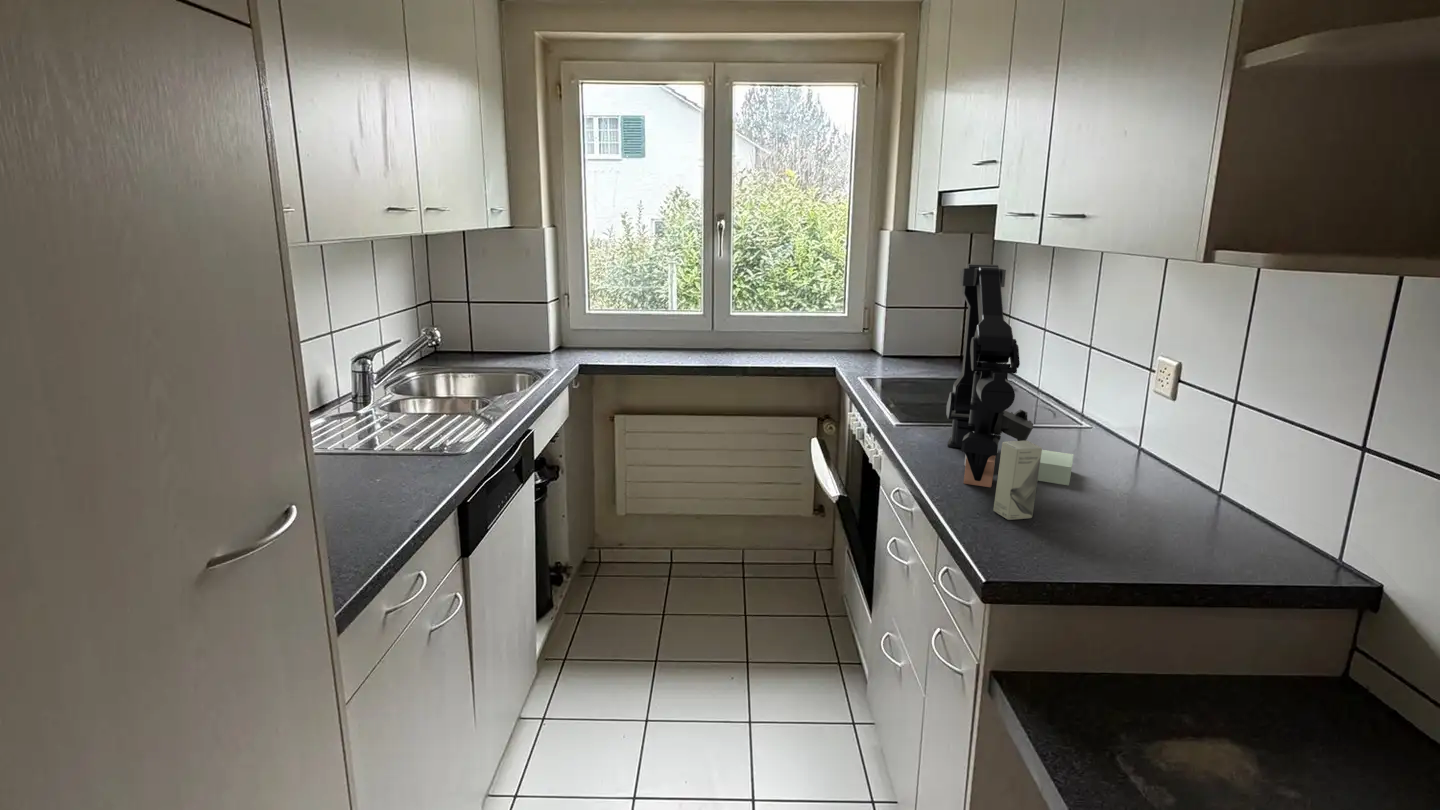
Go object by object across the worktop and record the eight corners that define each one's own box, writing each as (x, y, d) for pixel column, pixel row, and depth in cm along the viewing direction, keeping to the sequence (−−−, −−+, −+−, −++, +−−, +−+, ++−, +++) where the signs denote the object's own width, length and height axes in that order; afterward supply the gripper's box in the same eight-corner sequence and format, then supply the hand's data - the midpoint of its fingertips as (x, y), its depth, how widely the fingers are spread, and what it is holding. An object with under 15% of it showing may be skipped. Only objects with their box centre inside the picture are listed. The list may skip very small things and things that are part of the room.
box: (1007, 521, 131) (1016, 449, 128) (992, 511, 135) (1000, 441, 132) (1034, 518, 133) (1043, 446, 129) (1018, 508, 137) (1026, 439, 133)
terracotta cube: (966, 475, 153) (968, 451, 152) (992, 479, 151) (995, 454, 150) (963, 483, 149) (966, 458, 147) (990, 487, 147) (993, 462, 145)
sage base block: (1023, 465, 160) (1026, 447, 159) (1071, 473, 156) (1073, 454, 155) (1019, 479, 152) (1021, 459, 151) (1068, 487, 149) (1071, 467, 148)
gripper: (1032, 415, 134) (1021, 499, 138) (1034, 392, 151) (1024, 467, 155) (965, 407, 138) (956, 489, 142) (974, 386, 155) (967, 459, 159)
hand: (978, 476), depth 150 cm, fingers closed on terracotta cube, 5 cm apart
